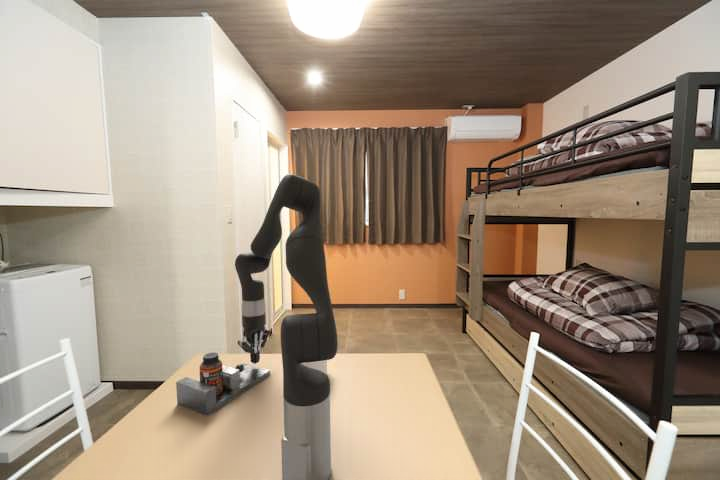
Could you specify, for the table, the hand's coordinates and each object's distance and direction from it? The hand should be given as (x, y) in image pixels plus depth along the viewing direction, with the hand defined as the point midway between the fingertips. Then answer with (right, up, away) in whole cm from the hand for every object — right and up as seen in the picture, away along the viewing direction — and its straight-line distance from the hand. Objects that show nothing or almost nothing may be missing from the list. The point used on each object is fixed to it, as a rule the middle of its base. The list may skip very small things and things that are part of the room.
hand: (255, 362), depth 109 cm
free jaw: (-4, -2, -9) cm, 10 cm away
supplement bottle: (-7, -3, -16) cm, 18 cm away
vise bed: (-5, -4, -10) cm, 12 cm away
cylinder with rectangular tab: (+20, -4, -3) cm, 20 cm away
